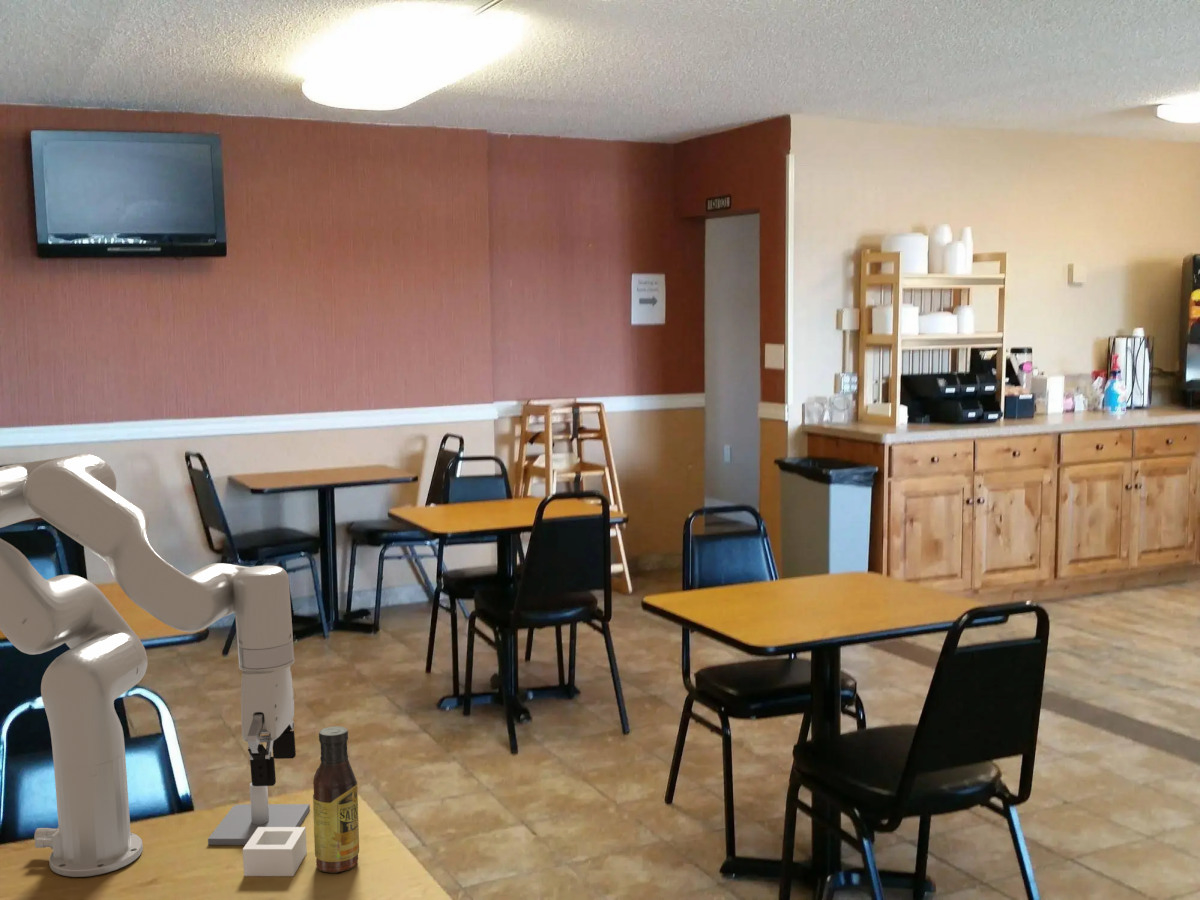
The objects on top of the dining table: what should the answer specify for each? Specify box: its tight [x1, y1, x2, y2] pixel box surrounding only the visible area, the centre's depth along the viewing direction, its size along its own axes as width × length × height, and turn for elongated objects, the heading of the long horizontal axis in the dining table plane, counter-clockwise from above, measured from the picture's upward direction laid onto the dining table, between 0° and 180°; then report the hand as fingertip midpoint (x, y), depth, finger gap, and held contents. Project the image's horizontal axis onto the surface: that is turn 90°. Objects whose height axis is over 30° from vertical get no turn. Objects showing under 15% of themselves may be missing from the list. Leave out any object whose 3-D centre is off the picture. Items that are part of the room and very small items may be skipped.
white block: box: [242, 826, 308, 877], centre depth 170 cm, size 7×7×4 cm
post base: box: [207, 781, 311, 846], centre depth 182 cm, size 12×12×7 cm
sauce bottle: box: [312, 725, 360, 874], centre depth 169 cm, size 7×6×20 cm
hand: (274, 771), depth 168 cm, fingers open, 9 cm apart
